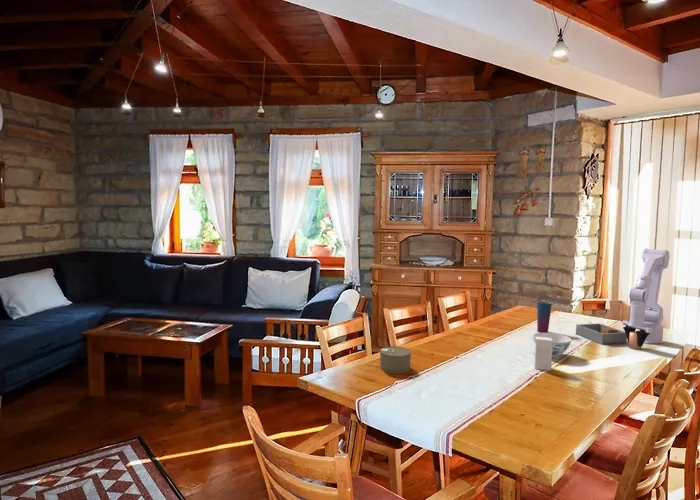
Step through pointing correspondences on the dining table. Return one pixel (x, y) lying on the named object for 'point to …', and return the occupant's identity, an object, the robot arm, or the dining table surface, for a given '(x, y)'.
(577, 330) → the tote
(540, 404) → the dining table surface
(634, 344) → the terracotta cylinder
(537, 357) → the skincare box
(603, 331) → the walnut cube
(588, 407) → the dining table surface
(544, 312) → the cup
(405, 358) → the can
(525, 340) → the dining table surface
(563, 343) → the chinaware
